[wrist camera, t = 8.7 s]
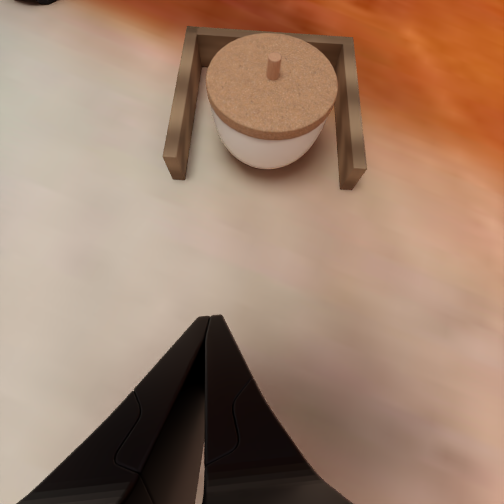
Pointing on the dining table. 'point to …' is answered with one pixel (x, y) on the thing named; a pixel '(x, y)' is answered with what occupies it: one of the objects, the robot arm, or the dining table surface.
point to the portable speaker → (45, 1)
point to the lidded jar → (270, 97)
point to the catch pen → (214, 39)
